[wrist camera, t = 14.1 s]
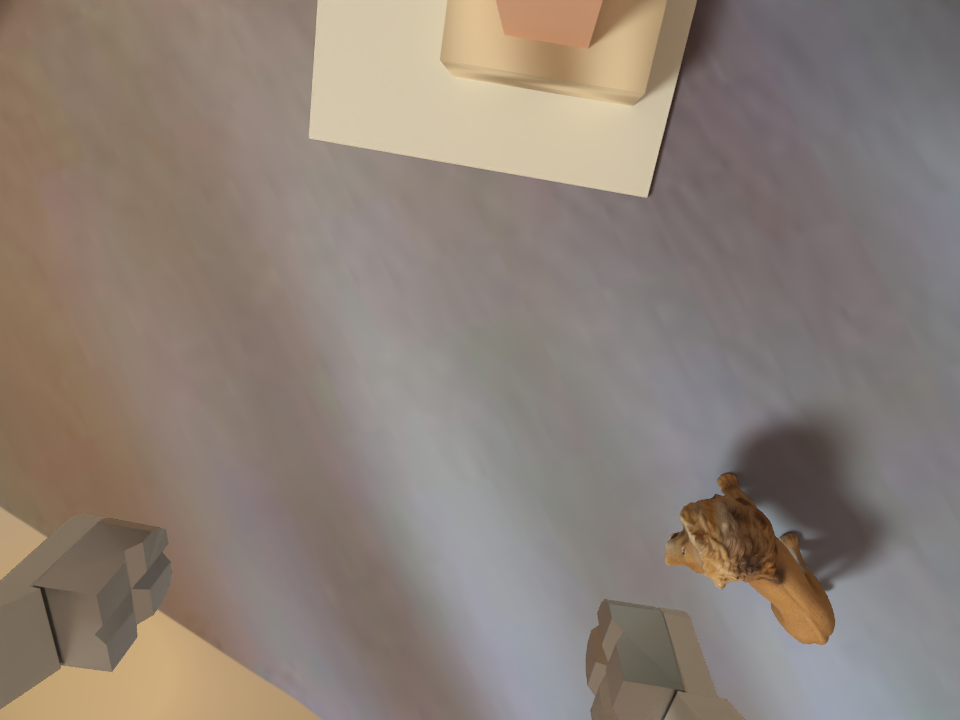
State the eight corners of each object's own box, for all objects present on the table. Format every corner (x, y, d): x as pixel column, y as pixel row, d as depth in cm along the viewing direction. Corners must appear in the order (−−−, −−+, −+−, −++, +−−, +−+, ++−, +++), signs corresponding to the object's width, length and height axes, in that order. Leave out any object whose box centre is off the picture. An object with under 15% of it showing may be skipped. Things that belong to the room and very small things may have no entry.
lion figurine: (633, 490, 37) (659, 580, 28) (689, 435, 35) (736, 513, 27) (793, 613, 38) (864, 734, 30) (854, 565, 37) (949, 679, 28)
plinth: (452, 76, 30) (439, 59, 26) (473, -73, 28) (462, -114, 24) (632, 106, 30) (644, 93, 26) (666, -44, 28) (686, -81, 24)
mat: (311, 138, 32) (308, 138, 32) (330, -150, 28) (327, -153, 28) (646, 197, 31) (647, 197, 31) (719, -94, 27) (721, -97, 27)
